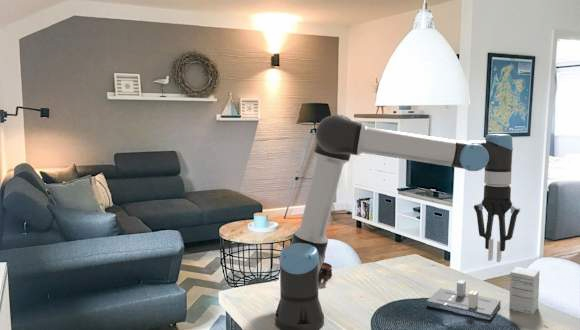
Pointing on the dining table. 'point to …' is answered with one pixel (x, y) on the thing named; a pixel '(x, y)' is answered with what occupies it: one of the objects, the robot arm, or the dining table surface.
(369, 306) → the dining table surface
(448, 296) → the plate
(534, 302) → the supplement box
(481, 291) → the dining table surface
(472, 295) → the fader near
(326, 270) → the pottery mug
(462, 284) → the block
